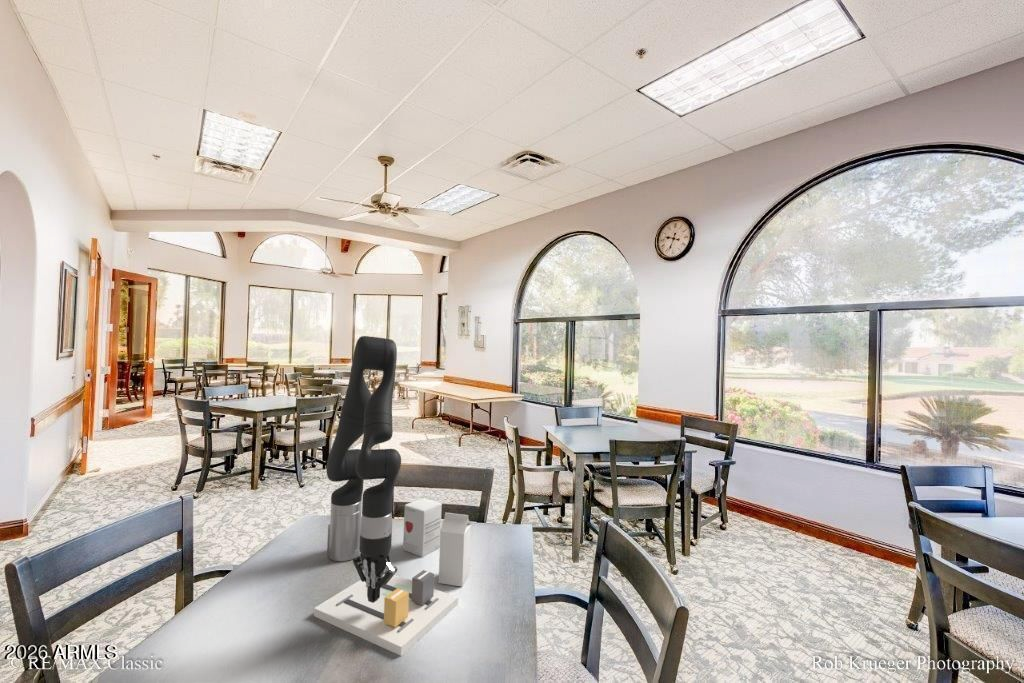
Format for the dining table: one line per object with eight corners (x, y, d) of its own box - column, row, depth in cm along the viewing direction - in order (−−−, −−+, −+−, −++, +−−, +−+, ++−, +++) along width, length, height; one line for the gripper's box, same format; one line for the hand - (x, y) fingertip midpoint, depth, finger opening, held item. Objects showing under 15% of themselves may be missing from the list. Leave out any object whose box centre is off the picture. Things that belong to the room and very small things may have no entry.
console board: (313, 616, 110) (314, 606, 110) (378, 575, 130) (378, 568, 130) (401, 656, 98) (401, 645, 98) (457, 604, 117) (458, 596, 117)
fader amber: (383, 622, 105) (384, 596, 105) (396, 612, 109) (397, 587, 109) (395, 627, 103) (396, 601, 103) (408, 617, 107) (408, 591, 107)
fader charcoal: (411, 601, 114) (412, 577, 114) (422, 592, 118) (423, 569, 118) (422, 605, 112) (423, 581, 112) (433, 596, 116) (434, 573, 116)
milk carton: (462, 587, 126) (464, 520, 126) (438, 583, 127) (440, 517, 127) (469, 574, 133) (471, 510, 133) (447, 571, 134) (449, 508, 134)
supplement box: (401, 550, 146) (403, 504, 146) (420, 540, 154) (422, 496, 154) (422, 557, 142) (424, 510, 142) (441, 547, 149) (442, 502, 149)
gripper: (344, 529, 109) (342, 599, 109) (385, 543, 103) (382, 617, 103) (367, 519, 116) (365, 585, 116) (407, 531, 110) (404, 601, 110)
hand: (373, 600), depth 110 cm, fingers closed
